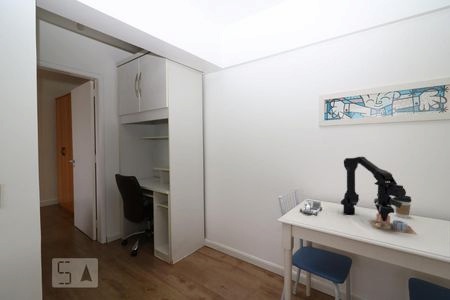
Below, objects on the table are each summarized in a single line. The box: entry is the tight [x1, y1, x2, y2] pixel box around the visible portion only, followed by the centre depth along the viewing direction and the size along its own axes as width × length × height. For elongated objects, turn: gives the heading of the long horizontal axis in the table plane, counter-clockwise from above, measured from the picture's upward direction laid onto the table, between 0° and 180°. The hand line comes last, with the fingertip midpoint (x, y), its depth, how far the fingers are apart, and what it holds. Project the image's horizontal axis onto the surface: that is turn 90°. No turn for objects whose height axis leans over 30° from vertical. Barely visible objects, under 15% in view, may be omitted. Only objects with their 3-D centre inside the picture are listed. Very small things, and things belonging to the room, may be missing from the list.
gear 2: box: [392, 219, 408, 231], centre depth 121 cm, size 6×6×4 cm
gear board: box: [368, 219, 418, 236], centre depth 122 cm, size 20×13×6 cm, turn 64°
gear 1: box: [375, 212, 391, 223], centre depth 124 cm, size 6×6×4 cm
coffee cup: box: [395, 195, 412, 219], centre depth 138 cm, size 8×8×15 cm
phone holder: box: [299, 198, 323, 217], centre depth 153 cm, size 18×10×12 cm
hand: (382, 219), depth 124 cm, fingers closed on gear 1, 6 cm apart
